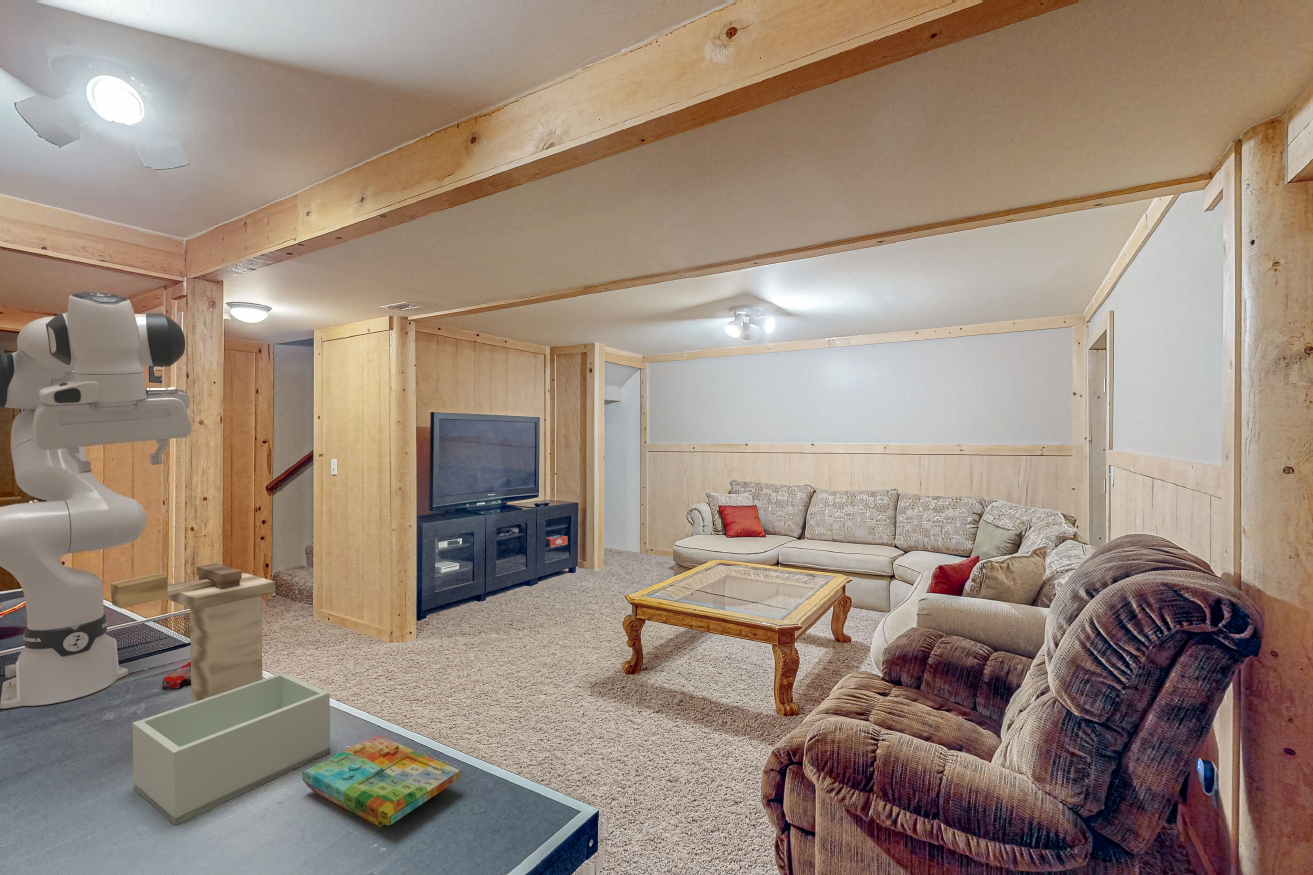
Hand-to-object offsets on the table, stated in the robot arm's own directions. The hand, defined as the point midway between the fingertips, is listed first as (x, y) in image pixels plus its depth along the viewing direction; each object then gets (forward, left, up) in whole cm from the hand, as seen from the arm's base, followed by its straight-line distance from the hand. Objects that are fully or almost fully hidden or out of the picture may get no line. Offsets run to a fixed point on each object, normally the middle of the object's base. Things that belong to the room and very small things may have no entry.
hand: (122, 468), depth 104 cm
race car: (-16, +16, -47) cm, 52 cm away
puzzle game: (+55, +13, -47) cm, 74 cm away
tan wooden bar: (+13, +4, -21) cm, 25 cm away
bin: (+30, +5, -47) cm, 56 cm away
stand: (+13, +9, -47) cm, 49 cm away
